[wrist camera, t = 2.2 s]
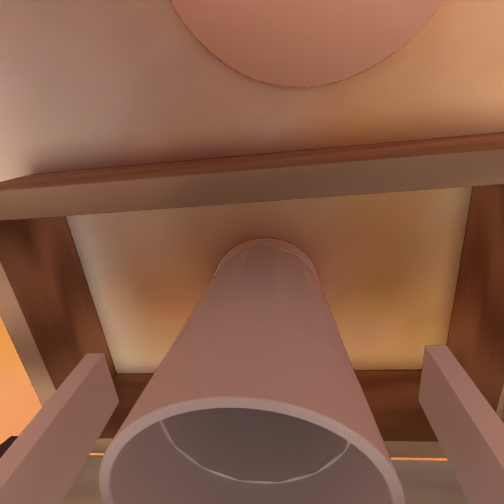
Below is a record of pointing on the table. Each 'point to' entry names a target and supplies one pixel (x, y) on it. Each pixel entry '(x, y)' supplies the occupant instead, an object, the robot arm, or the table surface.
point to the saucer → (303, 35)
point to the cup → (253, 400)
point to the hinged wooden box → (243, 191)
